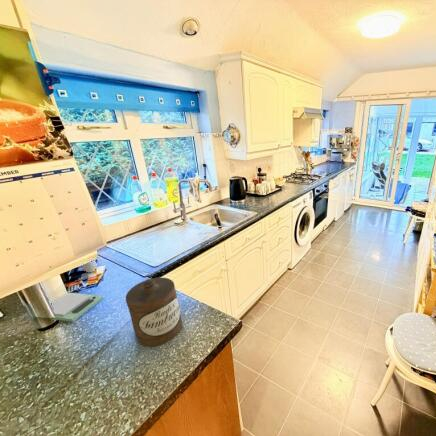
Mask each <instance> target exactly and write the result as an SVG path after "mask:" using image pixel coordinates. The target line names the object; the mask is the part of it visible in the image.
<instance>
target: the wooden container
mask: <svg viewBox="0 0 436 436" xmlns="http://www.w3.org/2000/svg"><path fill="white" fill-rule="evenodd" d="M175 286H176V285H175V283H174V281H173V280H172V279H171V278H168V277H153V278H149V279H146V280H143V281H141V282H139V283H137V284H134V286H133V287H131V288H130V289H129V290H128V291H127V293H126V296H125V302H126V306H127V308H128V311H129V312H128V313H129V315H130V320H131V324H132V328H133V331H134V333H135V337H136V341H137V342H138V344H139V345H141V346H143V347H149V348H150V347H151V348H152V347H157V346H161V345H164V344H165V343H167V342H169V341H171V340H172V339H173V338H175V337H176V336H177V335H178V334H179V332H180V331H181V329H182V327H183V319H182V314H181V308H180V304H179V300H178V296H177V292H176V287H175Z"/></svg>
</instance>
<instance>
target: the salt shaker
mask: <svg viewBox="0 0 436 436" xmlns="http://www.w3.org/2000/svg"><path fill="white" fill-rule="evenodd" d="M81 266H82V265H81ZM81 268H82V271H84V272H85V271H86V272H85V273H87V272H91V271H93V270H95V269H96V270H97V268H98V264H97V261H96V260H94V261H92V262H90V263H87V264H85V265H83V266H82V267H81ZM91 273H92V272H91Z"/></svg>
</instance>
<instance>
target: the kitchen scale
mask: <svg viewBox="0 0 436 436" xmlns="http://www.w3.org/2000/svg"><path fill="white" fill-rule="evenodd" d="M103 299H104V296H103V295H97V294H90V293H89V294H87V293H78V292H70V291H69V292H66V293H65V294H63V295H61V296H60V297H58V298H57V299H55V300H54V301H52V302H51V303H52V306H53V308H54V312H55V318H54V317H52V318H51V319H50V320H55V321H63V322H64V321H65V322H72V323H73V322H75V321H76V320H78V319H79V318H80V317H81V316H83V315H85V314H86V313H87V312H88V311H90V310H91V309H92V308H93V307H94V306H95V305H97V304H99V302H101V301H102V300H103Z"/></svg>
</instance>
